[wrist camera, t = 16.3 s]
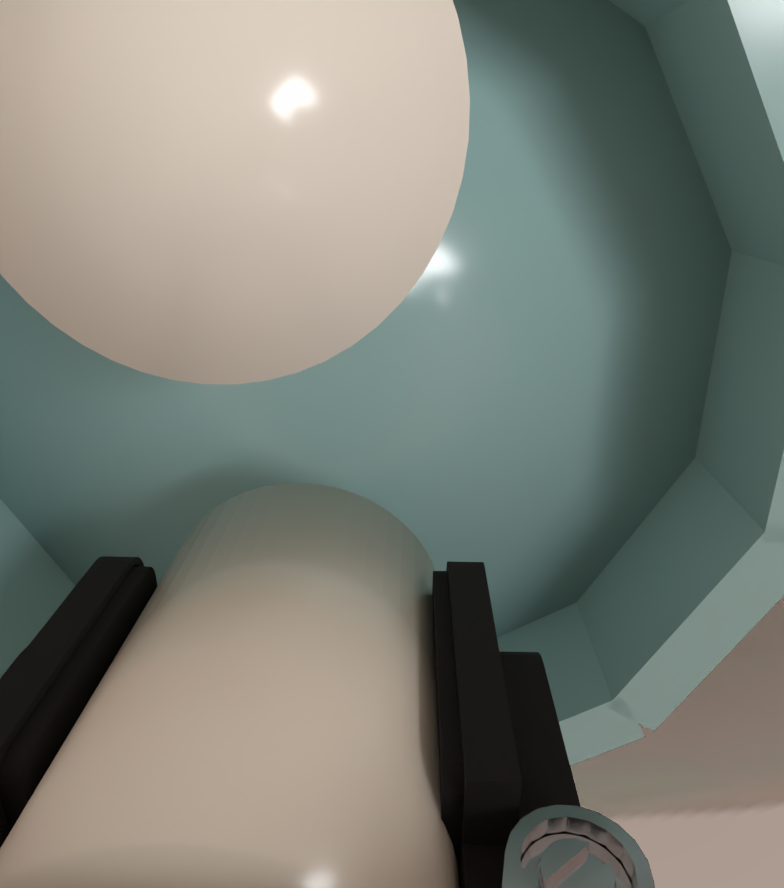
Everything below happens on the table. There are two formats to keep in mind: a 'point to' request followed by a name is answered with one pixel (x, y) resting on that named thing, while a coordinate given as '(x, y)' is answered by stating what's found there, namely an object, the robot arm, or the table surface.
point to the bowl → (502, 372)
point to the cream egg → (226, 173)
